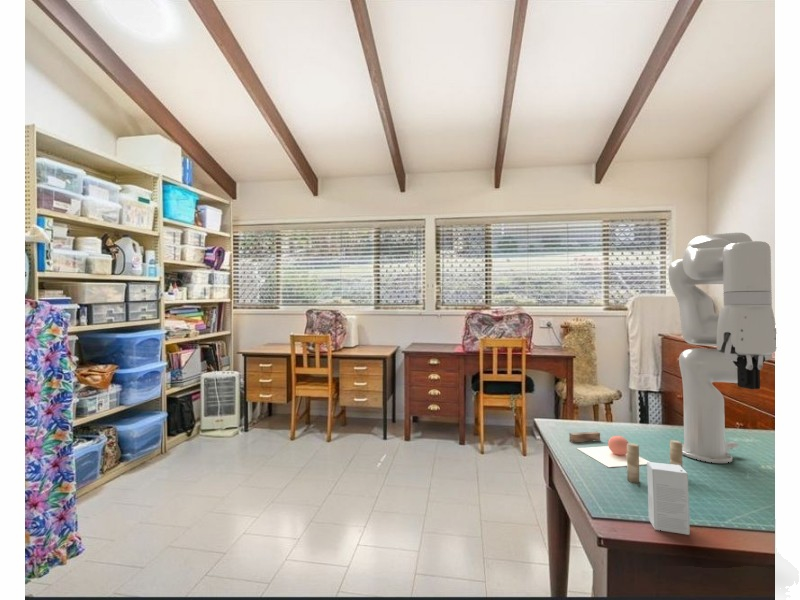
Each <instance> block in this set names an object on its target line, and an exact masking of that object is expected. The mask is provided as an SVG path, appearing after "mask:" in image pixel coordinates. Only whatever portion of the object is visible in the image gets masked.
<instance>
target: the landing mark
mask: <svg viewBox="0 0 800 600" xmlns="http://www.w3.org/2000/svg"><path fill="white" fill-rule="evenodd" d="M576 450H578V451H579V452H581V453H583V454H585V455H586V456H588V457H590V458H591V459H593V460H595V461H597V462H598V463H600V464H601V465H603V466H605V467H607V468H609V469H610V468H621V467H627V454H625V455H616V454H614V453H613V452H612V451H611V450H610V449H609V446H608V445H607V446H603V445H602V446H592V447H591V446H589V447H576ZM647 462H650V461H649V460H647V459H645V458H644V457H642V456H639V466H647Z"/></svg>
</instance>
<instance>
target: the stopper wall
mask: <svg viewBox="0 0 800 600" xmlns="http://www.w3.org/2000/svg"><path fill="white" fill-rule="evenodd" d="M593 440H600V441H601V432H599V431H587V432H586V431H585V432H583V431H582V432H569V442H571V443H572V442H574V443H582V442H581V441H589V442H594V441H593Z"/></svg>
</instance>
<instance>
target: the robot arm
mask: <svg viewBox="0 0 800 600" xmlns="http://www.w3.org/2000/svg"><path fill="white" fill-rule="evenodd" d="M771 254H772V250H771V246H770V244H769V243H767V242H766V241H760V240H759V241H757V240H754V241H753V240H752V238H751V237H750V236H749V235H748V234H747V233H743V232H729V233H727V232H726V233H714V234H713V233H711V234H709V233H708V234H704V235H699V236H698V235H697V236H695V237H694V238H693V239H691V240H690V241H689V242H688V243H687V245H686V248H685V251H684V253H683V256H682V258H681V259H676V260H675V261H672V262H671V263H670V264H669V267H668V270H667V271H668V281H669V285H670V287H671V290H672V292H673V294H674V296H675V299H676V300H677V302H678V309H679V316H680V317H679V318H680V328H681V333H682V334H681V335H682V339H683V340H684V341H685V342H686V343H687V344H689V345H694V346H707V347H708V346H709V347H710V346H711V347H712V346H713V347H716V348H689V349H684V350H683V351H681V353H680V354H679V357H678V363H679V364H678V365H679V371H680V375H681V381H682V393H683V394H682V395H683V443H682V456H685V457H687V458H690V459H693V460H696V459H697V460H698V461H700V460H701V461H700V462H705V461H706V463H711V462H712V463H713V464H729V463H731V462H733V456H732V454H730V453H729V450H737V449H738V448H739V445H738V443H737V442H736V441H727V440H726V433H725V432H726V427H725V426H726V425H725V423H726V421H725V419H726V418H725V416H726V415H725V398H724V395H723V393H721V391H720V390H719V389H717V387H716V386H714V384H713V383H727V384H728V383H729V384H731V383H733V384H737V387H739V388H744V389H748V390H760V389H761V370H762V369H763V364H764V362H766V361H769V360H771V359H772V358H773V354H774V353H776V351H777V347H776V334H777V327H776V328H775V325H776V320H775V314H774V310H773V305H772V304H773V303H772V300H773V297H772V294H773V293H772V291H773V290H772V255H771ZM696 285H697V286H696ZM698 285H722V287H723V294H722V295H723V307H720V311H719V314H717V313H715V310H714V308H715V307H714V301H713V299H712V297H711V296H710V295H709V294H707V292H705V291H704V290H703V289H701V288H700V287H698ZM728 462H729V463H728ZM712 463H711V464H712Z"/></svg>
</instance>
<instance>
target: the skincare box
mask: <svg viewBox="0 0 800 600" xmlns="http://www.w3.org/2000/svg"><path fill="white" fill-rule="evenodd" d="M646 470H647V471H646V473H647V474H646V475H647V477H646V478H647V498H648V499H647V502H648V503H647V504H648V505H647V507H648V520H649V522H650V524H651V525H652V527H653V528H654V529H653V530H655V531H660V530H661V531H662V532H667V533H674V534H675V533H676V534H681V535H686V536H690V535H691V534H690V533H691V530H690V526H691V525H690V499H689V497H690V494H689V473H688V472H687V471H686V470H685V469H684V467H683V468H682V467H681V466H680V465H673V464H670V463H661V462H652V461H649V462H647V465H646Z"/></svg>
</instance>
